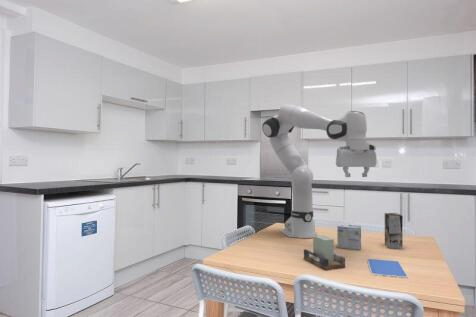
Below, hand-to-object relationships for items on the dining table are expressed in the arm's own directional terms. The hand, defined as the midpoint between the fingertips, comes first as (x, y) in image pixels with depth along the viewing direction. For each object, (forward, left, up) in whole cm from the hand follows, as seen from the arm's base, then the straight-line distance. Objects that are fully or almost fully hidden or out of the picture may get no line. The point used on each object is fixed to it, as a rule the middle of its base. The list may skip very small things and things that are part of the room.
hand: (356, 177), depth 146 cm
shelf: (+5, -21, -35) cm, 41 cm away
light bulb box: (-12, +6, -35) cm, 38 cm away
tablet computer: (+19, -2, -36) cm, 41 cm away
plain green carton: (+5, -21, -34) cm, 40 cm away
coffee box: (-6, +28, -35) cm, 45 cm away
